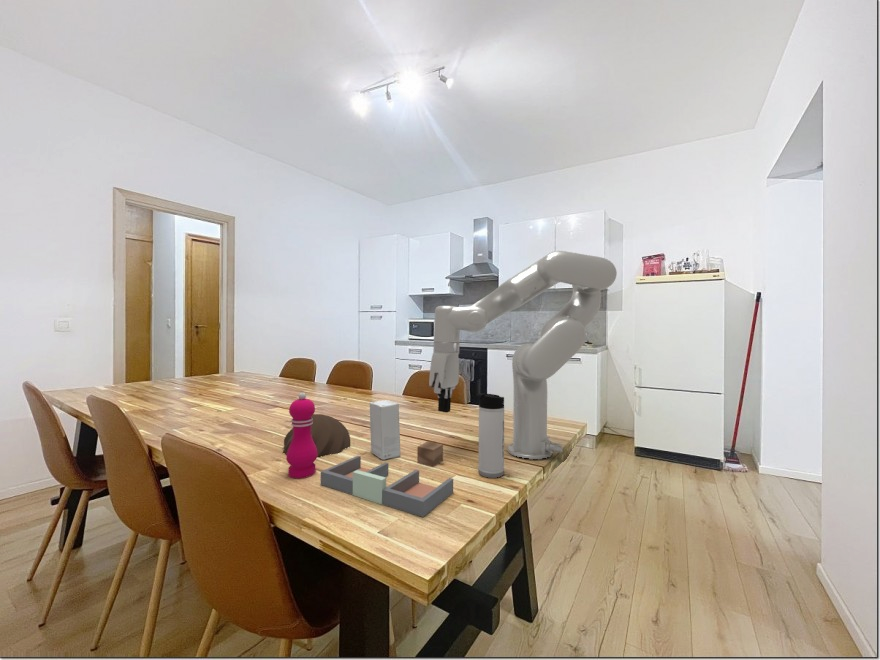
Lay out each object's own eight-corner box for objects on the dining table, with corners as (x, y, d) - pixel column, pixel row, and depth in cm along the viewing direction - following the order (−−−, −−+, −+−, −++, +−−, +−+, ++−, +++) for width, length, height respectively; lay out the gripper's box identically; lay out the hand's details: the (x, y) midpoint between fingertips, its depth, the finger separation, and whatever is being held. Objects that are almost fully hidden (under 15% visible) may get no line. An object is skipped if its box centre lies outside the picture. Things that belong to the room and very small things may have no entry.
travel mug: (472, 470, 93) (473, 391, 92) (495, 466, 95) (495, 390, 95) (485, 480, 87) (485, 396, 87) (508, 476, 89) (509, 394, 89)
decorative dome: (266, 453, 105) (266, 419, 105) (313, 434, 123) (313, 405, 123) (322, 463, 98) (322, 425, 98) (362, 441, 116) (362, 410, 116)
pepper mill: (291, 468, 94) (291, 390, 94) (320, 467, 94) (320, 389, 94) (281, 479, 87) (282, 395, 86) (313, 478, 87) (313, 395, 87)
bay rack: (453, 492, 80) (453, 469, 80) (422, 517, 70) (423, 491, 70) (357, 467, 95) (357, 447, 94) (320, 484, 84) (320, 463, 84)
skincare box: (400, 456, 102) (401, 403, 102) (380, 461, 99) (381, 406, 99) (387, 448, 109) (388, 398, 109) (368, 452, 106) (369, 400, 106)
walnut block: (442, 460, 100) (442, 444, 100) (433, 467, 95) (433, 449, 95) (427, 457, 102) (427, 441, 102) (417, 463, 98) (417, 446, 98)
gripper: (447, 346, 115) (445, 405, 115) (421, 348, 102) (419, 414, 102) (469, 348, 111) (467, 408, 111) (445, 350, 98) (442, 418, 98)
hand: (444, 411), depth 106 cm, fingers closed
